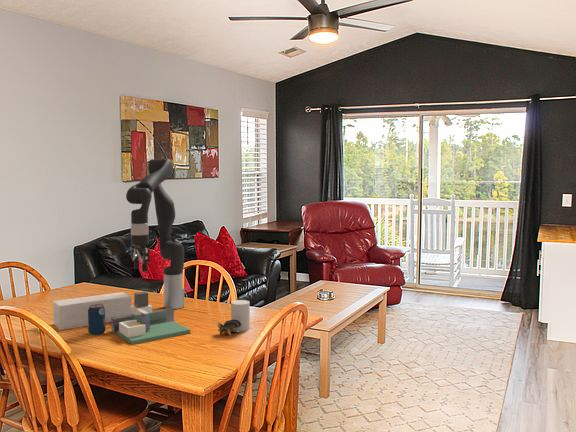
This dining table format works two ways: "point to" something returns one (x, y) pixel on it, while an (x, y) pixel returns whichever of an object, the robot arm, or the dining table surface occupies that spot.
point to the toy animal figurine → (229, 326)
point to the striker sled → (142, 308)
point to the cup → (241, 314)
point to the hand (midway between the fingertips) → (140, 270)
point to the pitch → (157, 332)
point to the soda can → (96, 319)
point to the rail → (155, 318)
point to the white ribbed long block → (77, 309)
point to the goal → (131, 328)
